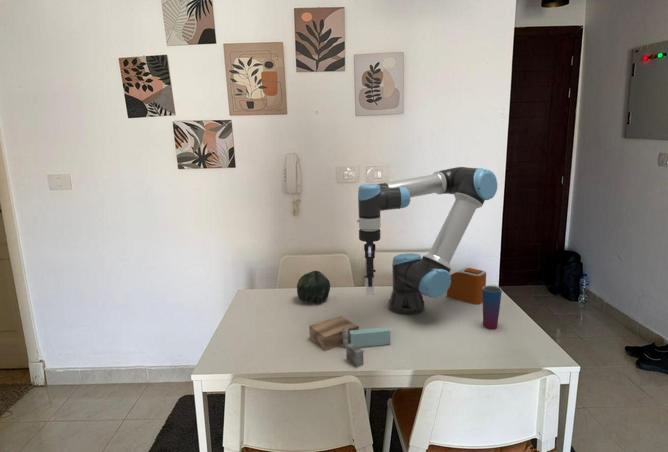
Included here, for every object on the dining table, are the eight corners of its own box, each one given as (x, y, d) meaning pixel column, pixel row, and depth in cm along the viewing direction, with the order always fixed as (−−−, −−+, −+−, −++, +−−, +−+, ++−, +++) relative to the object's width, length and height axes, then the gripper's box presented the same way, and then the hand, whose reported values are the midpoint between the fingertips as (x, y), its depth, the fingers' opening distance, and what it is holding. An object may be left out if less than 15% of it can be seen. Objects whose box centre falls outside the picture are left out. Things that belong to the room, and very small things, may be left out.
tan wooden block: (309, 338, 158) (309, 320, 156) (341, 328, 165) (341, 311, 164) (350, 369, 136) (350, 349, 135) (385, 356, 144) (385, 336, 142)
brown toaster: (486, 299, 189) (488, 269, 186) (478, 305, 183) (479, 274, 180) (455, 291, 199) (456, 263, 196) (446, 297, 193) (447, 268, 190)
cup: (501, 331, 159) (503, 292, 156) (481, 329, 160) (483, 291, 157) (498, 323, 166) (500, 286, 162) (479, 322, 167) (481, 285, 164)
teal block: (351, 347, 150) (350, 334, 148) (349, 343, 152) (349, 330, 151) (390, 344, 151) (390, 330, 150) (388, 340, 154) (388, 327, 153)
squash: (296, 282, 202) (296, 265, 190) (328, 281, 203) (330, 264, 191) (297, 310, 193) (297, 294, 181) (330, 309, 195) (333, 293, 183)
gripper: (359, 223, 159) (360, 284, 164) (358, 234, 143) (359, 301, 148) (380, 223, 159) (380, 284, 164) (380, 234, 142) (381, 301, 147)
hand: (370, 292), depth 156 cm, fingers open, 4 cm apart
